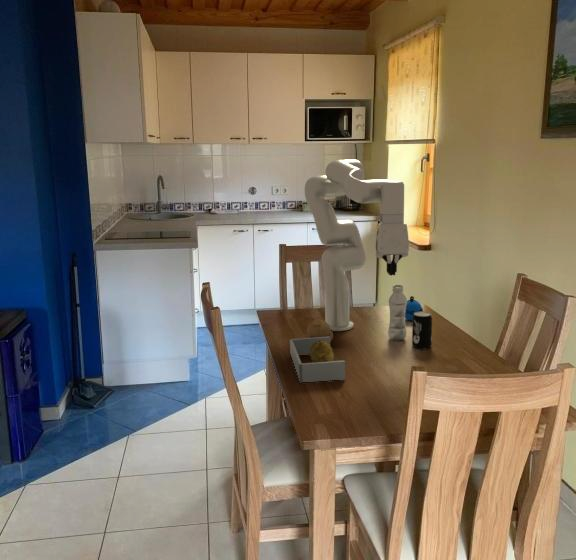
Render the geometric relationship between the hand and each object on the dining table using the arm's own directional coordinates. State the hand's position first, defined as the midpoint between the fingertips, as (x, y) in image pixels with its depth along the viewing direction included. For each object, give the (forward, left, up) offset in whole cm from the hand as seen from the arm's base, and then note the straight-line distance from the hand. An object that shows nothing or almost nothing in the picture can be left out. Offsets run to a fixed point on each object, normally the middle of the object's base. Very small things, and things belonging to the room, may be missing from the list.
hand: (391, 274), depth 186 cm
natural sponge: (-11, -23, -27) cm, 37 cm away
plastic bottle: (-12, +6, -27) cm, 30 cm away
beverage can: (-3, +12, -27) cm, 30 cm away
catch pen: (+9, -27, -27) cm, 40 cm away
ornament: (-34, +19, -27) cm, 48 cm away
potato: (+10, -25, -27) cm, 39 cm away
